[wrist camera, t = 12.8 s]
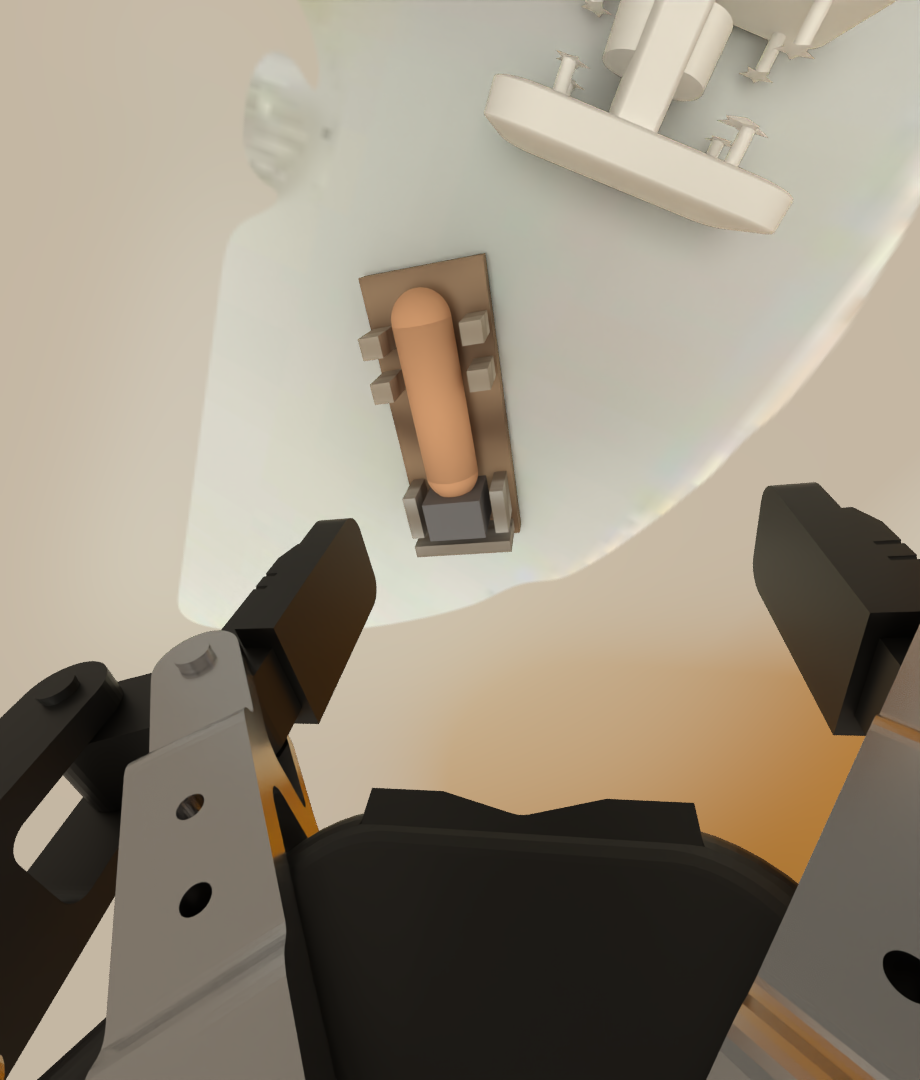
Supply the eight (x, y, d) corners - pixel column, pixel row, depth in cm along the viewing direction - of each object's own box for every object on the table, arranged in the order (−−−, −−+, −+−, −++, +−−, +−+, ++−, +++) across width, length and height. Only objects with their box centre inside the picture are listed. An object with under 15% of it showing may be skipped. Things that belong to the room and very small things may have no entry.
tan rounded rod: (390, 289, 35) (371, 299, 32) (453, 278, 34) (440, 286, 31) (441, 513, 44) (430, 541, 41) (491, 509, 43) (485, 537, 40)
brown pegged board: (365, 276, 36) (340, 284, 32) (485, 253, 34) (475, 259, 30) (426, 530, 47) (413, 561, 43) (520, 523, 45) (517, 555, 41)
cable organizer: (488, 138, 31) (457, 107, 22) (562, -120, 25) (565, -321, 16) (714, 232, 32) (782, 242, 22) (837, 2, 26) (1002, -119, 16)
